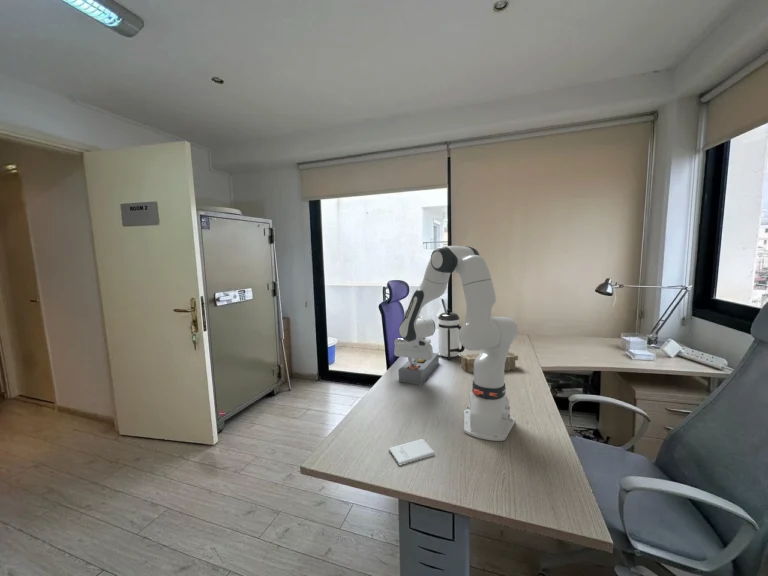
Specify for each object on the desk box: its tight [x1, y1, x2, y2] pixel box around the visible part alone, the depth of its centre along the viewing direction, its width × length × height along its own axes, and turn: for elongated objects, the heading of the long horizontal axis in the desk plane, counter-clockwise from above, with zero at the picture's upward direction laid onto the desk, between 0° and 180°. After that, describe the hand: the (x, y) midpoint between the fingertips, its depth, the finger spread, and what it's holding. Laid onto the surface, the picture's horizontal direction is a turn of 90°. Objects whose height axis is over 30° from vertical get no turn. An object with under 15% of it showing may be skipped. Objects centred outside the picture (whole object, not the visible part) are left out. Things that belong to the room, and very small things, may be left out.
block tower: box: [460, 351, 519, 374], centre depth 170 cm, size 8×8×29 cm
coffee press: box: [437, 308, 466, 361], centre depth 191 cm, size 17×16×30 cm
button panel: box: [398, 352, 440, 385], centre depth 169 cm, size 32×12×6 cm, turn 155°
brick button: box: [409, 365, 419, 370], centre depth 160 cm, size 5×5×2 cm
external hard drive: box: [388, 438, 436, 465], centre depth 100 cm, size 2×8×12 cm
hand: (413, 365), depth 160 cm, fingers closed
